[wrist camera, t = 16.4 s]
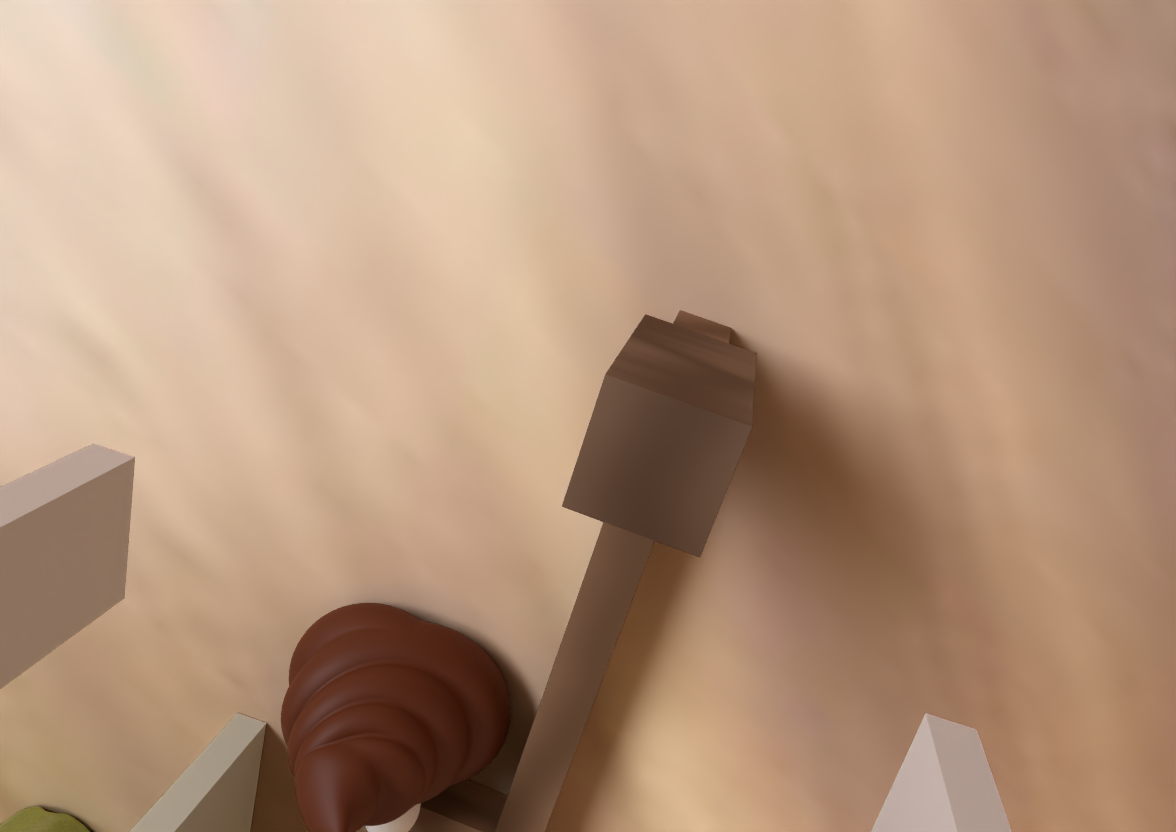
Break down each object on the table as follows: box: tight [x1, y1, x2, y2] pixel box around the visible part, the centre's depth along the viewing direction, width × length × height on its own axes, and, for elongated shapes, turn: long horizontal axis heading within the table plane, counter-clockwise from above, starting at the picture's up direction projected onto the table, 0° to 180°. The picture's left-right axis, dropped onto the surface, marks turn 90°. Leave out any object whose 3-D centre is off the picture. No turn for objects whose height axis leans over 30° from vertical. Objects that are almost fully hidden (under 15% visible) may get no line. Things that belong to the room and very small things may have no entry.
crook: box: [408, 310, 757, 832], centre depth 33 cm, size 12×26×10 cm, turn 163°
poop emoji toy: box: [281, 603, 510, 832], centre depth 36 cm, size 10×8×9 cm
